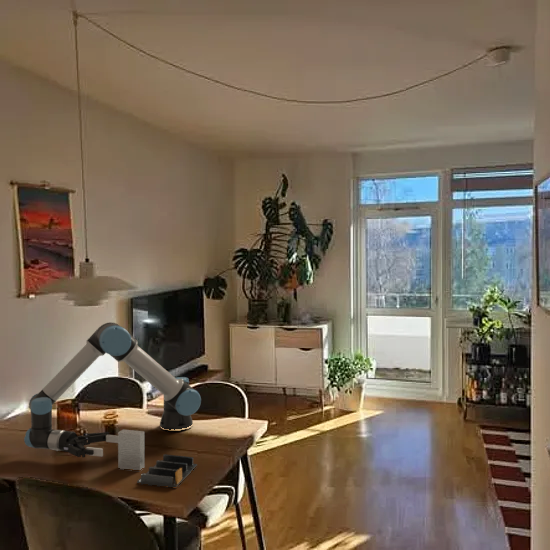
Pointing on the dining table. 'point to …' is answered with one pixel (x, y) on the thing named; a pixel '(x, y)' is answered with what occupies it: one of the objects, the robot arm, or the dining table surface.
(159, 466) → the rack
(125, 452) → the panel
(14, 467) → the dining table surface
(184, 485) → the dining table surface
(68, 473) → the dining table surface
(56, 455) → the dining table surface
